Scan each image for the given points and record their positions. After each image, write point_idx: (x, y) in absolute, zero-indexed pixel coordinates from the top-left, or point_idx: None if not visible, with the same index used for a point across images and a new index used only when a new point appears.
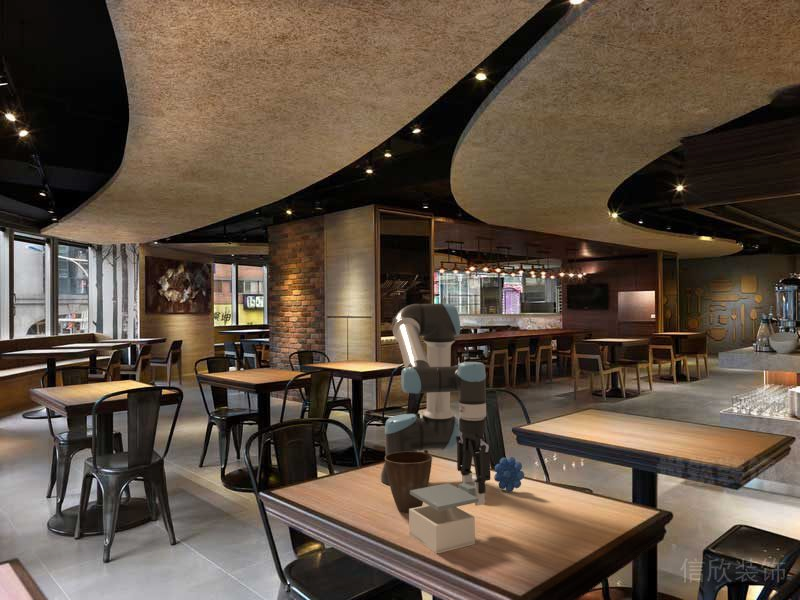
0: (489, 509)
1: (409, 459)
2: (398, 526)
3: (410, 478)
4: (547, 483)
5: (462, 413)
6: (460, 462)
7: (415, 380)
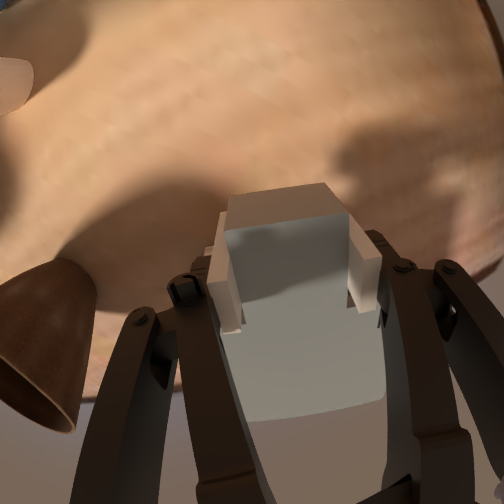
0: (108, 60)
1: None
2: None
3: (82, 377)
4: None
5: None
6: (166, 396)
7: None
